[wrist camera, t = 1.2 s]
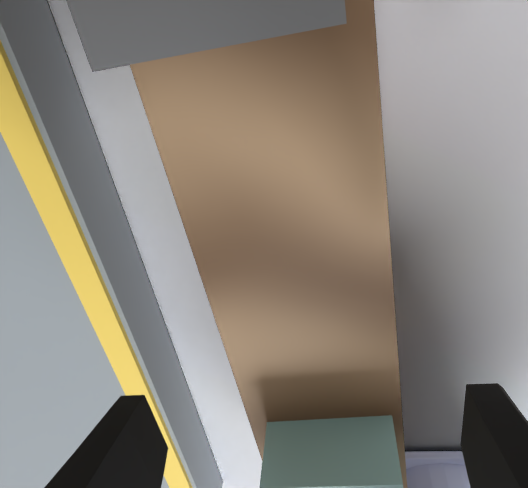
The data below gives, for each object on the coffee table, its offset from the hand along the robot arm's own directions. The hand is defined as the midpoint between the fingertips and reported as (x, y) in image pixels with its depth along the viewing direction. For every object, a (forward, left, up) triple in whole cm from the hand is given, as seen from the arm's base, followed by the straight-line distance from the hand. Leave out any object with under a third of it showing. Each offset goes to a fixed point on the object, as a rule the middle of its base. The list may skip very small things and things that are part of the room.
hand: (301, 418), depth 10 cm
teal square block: (-7, 0, -4) cm, 8 cm away
